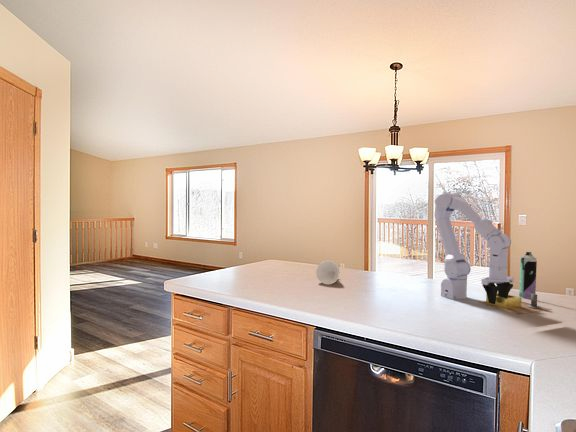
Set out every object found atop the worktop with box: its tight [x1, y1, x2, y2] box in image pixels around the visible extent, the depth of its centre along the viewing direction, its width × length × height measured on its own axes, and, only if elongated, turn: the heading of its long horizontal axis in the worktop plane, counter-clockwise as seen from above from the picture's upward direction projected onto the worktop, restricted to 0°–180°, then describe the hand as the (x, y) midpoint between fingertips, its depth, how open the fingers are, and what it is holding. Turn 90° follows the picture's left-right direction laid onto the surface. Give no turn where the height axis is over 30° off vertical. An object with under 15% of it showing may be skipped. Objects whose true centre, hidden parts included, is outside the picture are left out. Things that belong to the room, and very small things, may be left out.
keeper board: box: [478, 294, 553, 315], centre depth 129 cm, size 18×16×6 cm
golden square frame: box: [485, 292, 522, 309], centre depth 129 cm, size 8×8×4 cm
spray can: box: [518, 251, 538, 300], centre depth 142 cm, size 6×6×20 cm
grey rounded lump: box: [315, 259, 341, 285], centre depth 175 cm, size 12×12×18 cm
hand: (497, 302), depth 128 cm, fingers open, 5 cm apart
